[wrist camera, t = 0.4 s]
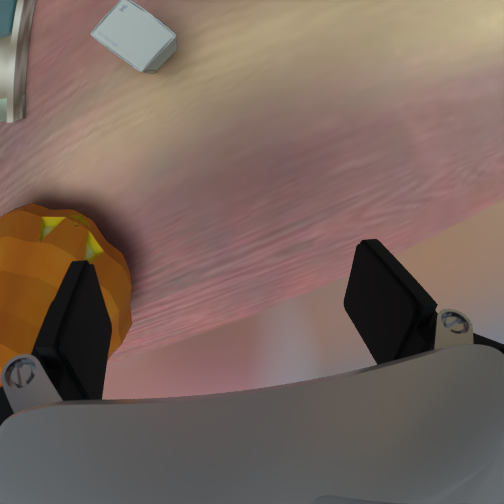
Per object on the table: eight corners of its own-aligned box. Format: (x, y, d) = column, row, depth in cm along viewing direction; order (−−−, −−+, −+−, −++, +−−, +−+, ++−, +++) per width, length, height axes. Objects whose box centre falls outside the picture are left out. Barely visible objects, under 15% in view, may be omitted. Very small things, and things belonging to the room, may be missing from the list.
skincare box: (116, 46, 28) (85, 34, 18) (142, 18, 27) (123, -7, 17) (154, 75, 32) (139, 75, 21) (181, 48, 30) (177, 34, 20)
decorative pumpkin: (172, 249, 44) (176, 464, 19) (94, 340, 50) (72, 503, 25) (38, 149, 32) (-125, 293, 7) (-16, 268, 38) (-95, 416, 13)
